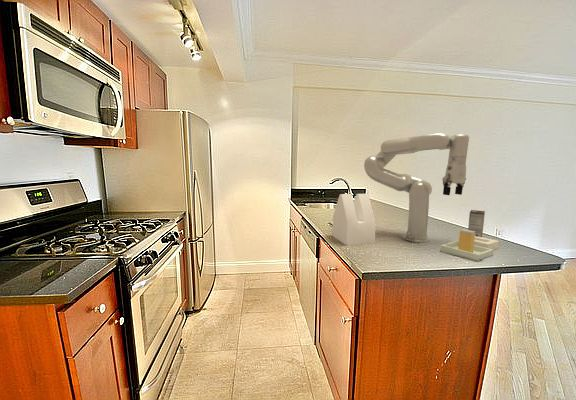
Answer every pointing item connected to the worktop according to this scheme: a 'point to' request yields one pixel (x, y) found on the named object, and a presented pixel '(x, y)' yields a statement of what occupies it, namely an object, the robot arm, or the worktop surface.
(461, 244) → the fuse
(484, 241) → the beige square stand
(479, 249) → the parts tray
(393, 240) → the worktop surface
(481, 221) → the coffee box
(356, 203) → the white notched block
